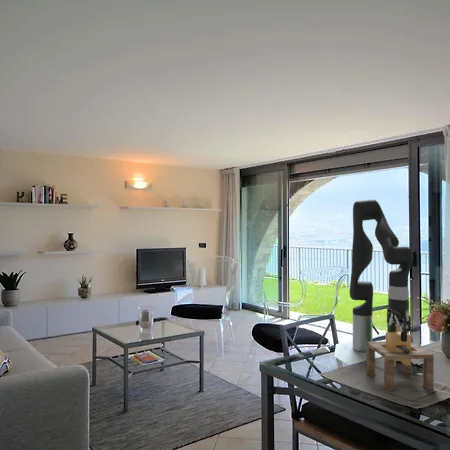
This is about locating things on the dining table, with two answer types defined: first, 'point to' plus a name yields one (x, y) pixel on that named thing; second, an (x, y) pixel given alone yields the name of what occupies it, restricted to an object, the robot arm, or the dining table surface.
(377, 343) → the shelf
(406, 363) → the wooden arch block
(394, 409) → the dining table surface
